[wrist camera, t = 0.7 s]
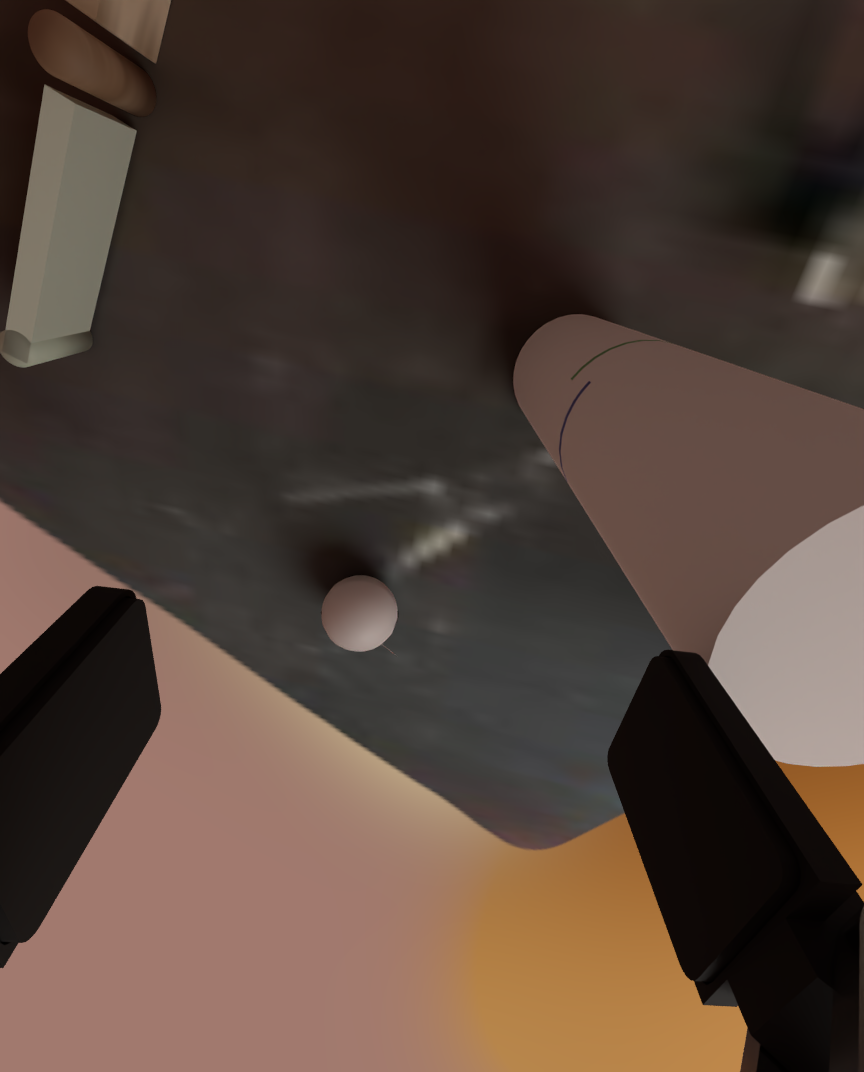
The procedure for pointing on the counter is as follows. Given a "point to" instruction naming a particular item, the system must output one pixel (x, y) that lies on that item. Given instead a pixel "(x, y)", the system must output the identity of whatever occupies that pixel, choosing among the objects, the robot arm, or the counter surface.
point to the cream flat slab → (65, 229)
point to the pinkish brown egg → (359, 613)
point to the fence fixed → (103, 49)
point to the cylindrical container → (720, 517)
